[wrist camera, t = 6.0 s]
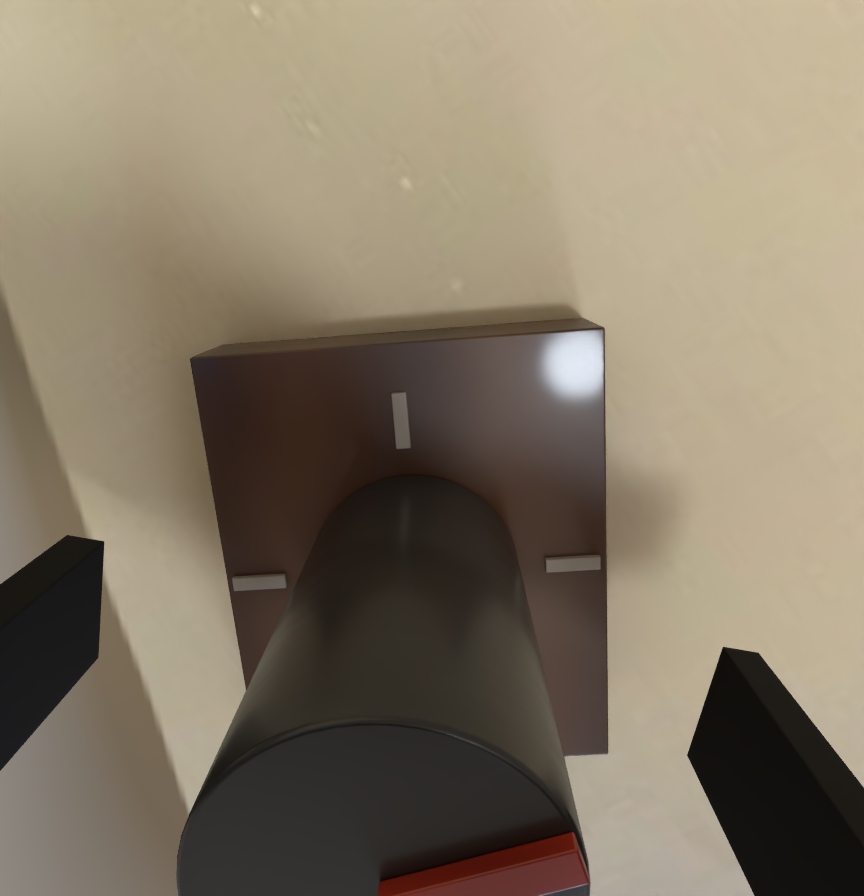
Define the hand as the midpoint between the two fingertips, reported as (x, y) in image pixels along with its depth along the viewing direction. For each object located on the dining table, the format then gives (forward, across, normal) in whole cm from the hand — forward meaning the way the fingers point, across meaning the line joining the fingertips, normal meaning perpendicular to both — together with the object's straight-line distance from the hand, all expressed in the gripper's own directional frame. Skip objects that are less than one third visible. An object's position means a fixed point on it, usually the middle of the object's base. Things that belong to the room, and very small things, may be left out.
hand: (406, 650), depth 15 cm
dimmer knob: (+4, 0, 0) cm, 4 cm away
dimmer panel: (+6, 0, 0) cm, 6 cm away
